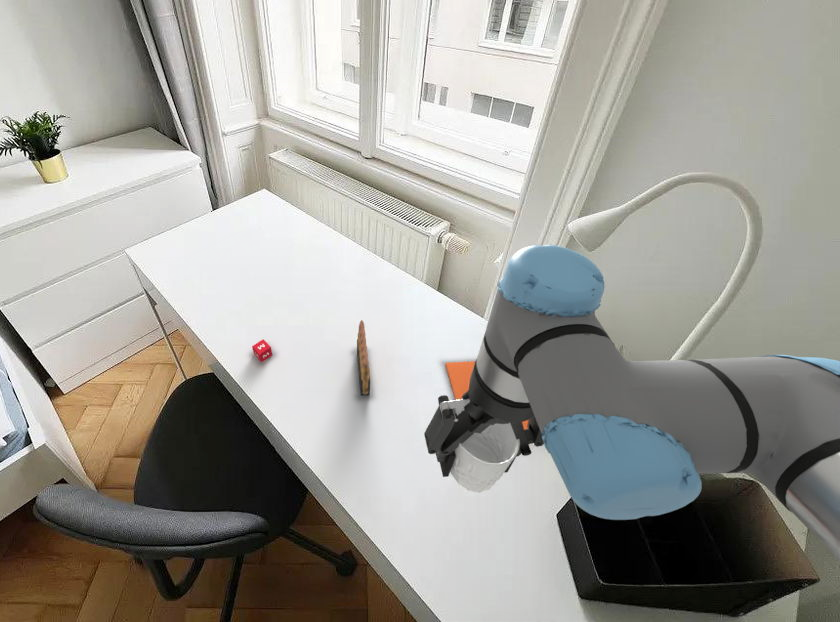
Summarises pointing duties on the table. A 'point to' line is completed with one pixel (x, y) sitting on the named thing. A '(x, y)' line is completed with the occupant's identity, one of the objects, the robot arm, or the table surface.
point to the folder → (463, 379)
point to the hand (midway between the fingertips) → (472, 464)
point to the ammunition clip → (363, 361)
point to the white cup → (484, 457)
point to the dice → (262, 350)
